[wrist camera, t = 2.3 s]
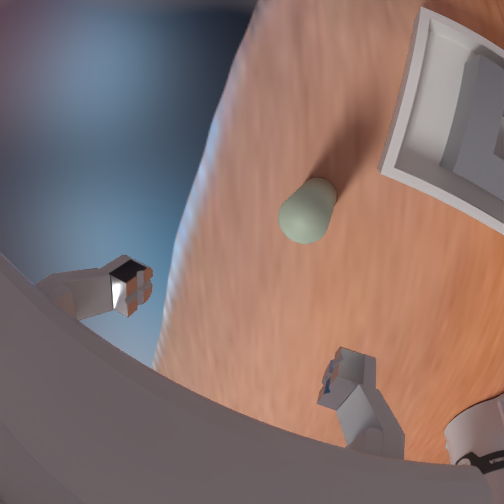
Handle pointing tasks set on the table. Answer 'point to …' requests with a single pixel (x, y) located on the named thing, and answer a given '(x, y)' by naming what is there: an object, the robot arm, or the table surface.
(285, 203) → the peg
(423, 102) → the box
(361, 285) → the table surface
